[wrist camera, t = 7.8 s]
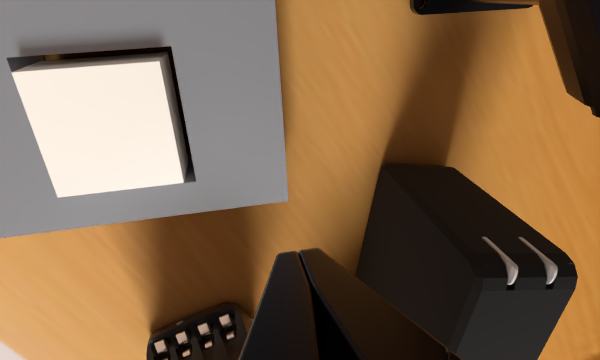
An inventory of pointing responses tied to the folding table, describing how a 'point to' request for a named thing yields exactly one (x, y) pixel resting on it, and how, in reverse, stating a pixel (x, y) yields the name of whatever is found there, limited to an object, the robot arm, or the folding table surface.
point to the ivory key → (105, 122)
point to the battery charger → (203, 336)
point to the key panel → (194, 96)
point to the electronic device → (463, 264)
